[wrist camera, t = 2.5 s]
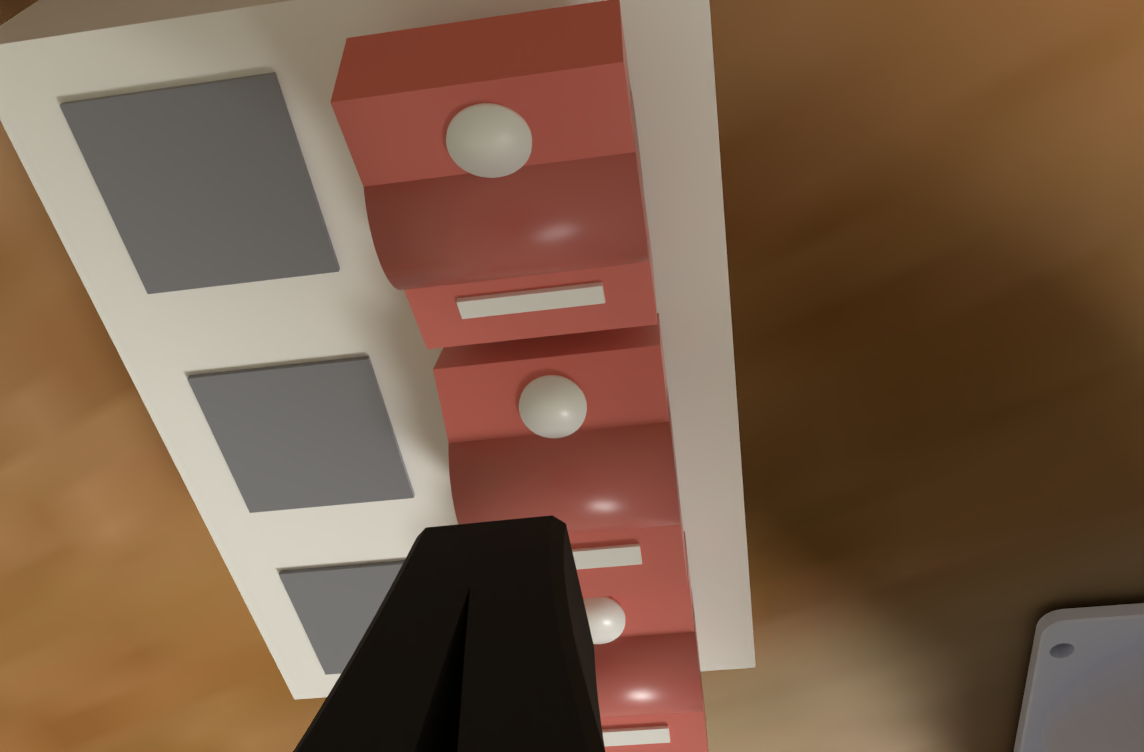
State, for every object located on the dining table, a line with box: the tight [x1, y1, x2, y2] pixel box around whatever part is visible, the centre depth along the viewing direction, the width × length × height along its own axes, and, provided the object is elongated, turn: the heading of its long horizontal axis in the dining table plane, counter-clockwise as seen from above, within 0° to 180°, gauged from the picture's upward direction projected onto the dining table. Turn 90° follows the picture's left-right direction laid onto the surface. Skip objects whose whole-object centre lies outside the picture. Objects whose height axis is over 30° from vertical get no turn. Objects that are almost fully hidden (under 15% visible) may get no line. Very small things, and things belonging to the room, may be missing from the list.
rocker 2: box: [583, 531, 708, 752], centre depth 17 cm, size 4×3×2 cm
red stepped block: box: [433, 313, 688, 598], centre depth 15 cm, size 4×3×2 cm
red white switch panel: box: [0, 0, 755, 699], centre depth 17 cm, size 13×9×4 cm
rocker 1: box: [330, 0, 658, 349], centre depth 12 cm, size 4×3×2 cm
